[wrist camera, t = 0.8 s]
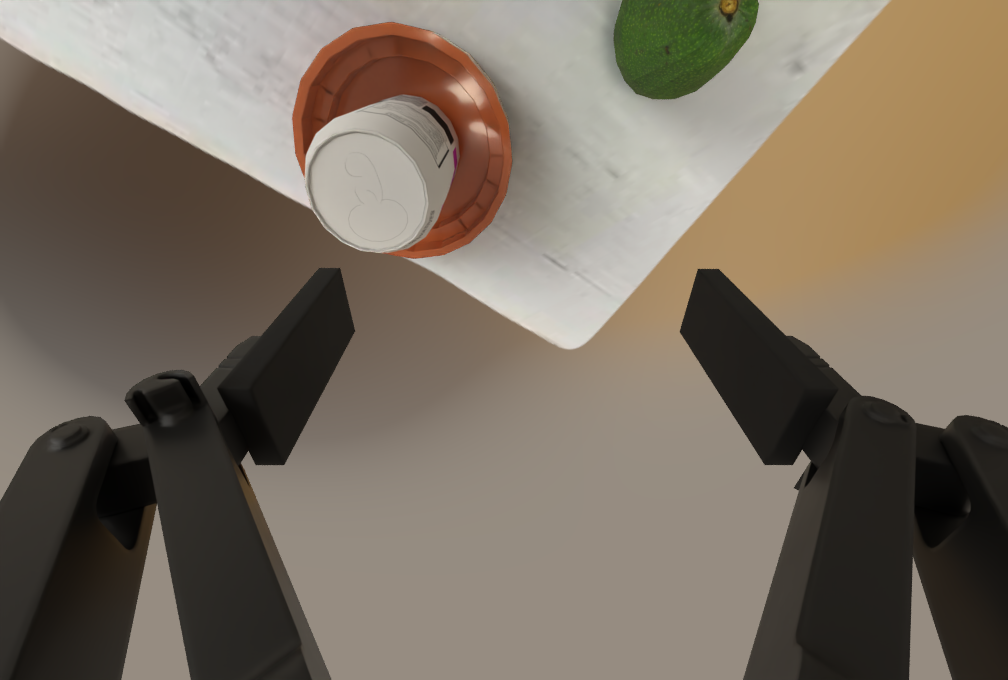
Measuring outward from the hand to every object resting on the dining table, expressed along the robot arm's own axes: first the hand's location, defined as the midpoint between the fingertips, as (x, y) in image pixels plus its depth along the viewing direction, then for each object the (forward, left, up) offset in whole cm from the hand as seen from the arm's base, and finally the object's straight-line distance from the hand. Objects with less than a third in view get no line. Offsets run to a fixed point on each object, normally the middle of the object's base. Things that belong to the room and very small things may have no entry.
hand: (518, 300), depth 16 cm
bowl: (-4, -7, -26) cm, 28 cm away
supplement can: (-4, -7, -26) cm, 27 cm away
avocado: (-3, +14, -26) cm, 30 cm away
